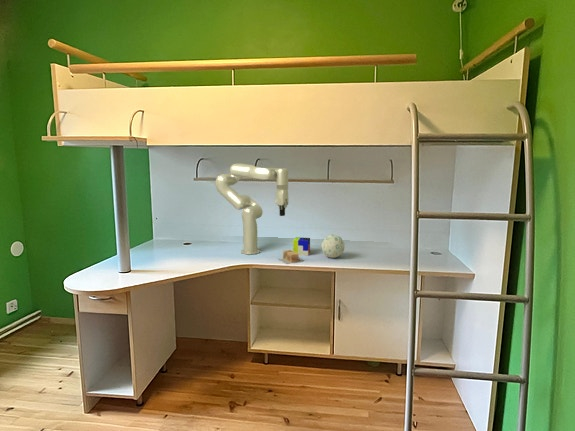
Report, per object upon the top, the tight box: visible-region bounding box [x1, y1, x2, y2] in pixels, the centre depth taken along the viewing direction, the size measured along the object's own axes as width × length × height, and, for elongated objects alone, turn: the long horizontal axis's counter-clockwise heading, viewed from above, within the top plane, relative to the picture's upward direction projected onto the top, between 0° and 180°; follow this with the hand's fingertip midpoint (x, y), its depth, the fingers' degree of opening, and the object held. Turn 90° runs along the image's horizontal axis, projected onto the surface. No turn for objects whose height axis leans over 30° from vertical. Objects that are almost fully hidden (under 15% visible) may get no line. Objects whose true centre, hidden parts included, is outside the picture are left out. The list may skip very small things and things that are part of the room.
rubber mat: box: [278, 258, 305, 265], centre depth 250 cm, size 11×12×1 cm
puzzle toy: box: [292, 236, 311, 257], centre depth 267 cm, size 10×10×10 cm
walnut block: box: [282, 249, 299, 264], centre depth 250 cm, size 5×5×11 cm
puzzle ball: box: [320, 234, 345, 259], centre depth 257 cm, size 15×15×15 cm
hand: (282, 215), depth 257 cm, fingers closed
